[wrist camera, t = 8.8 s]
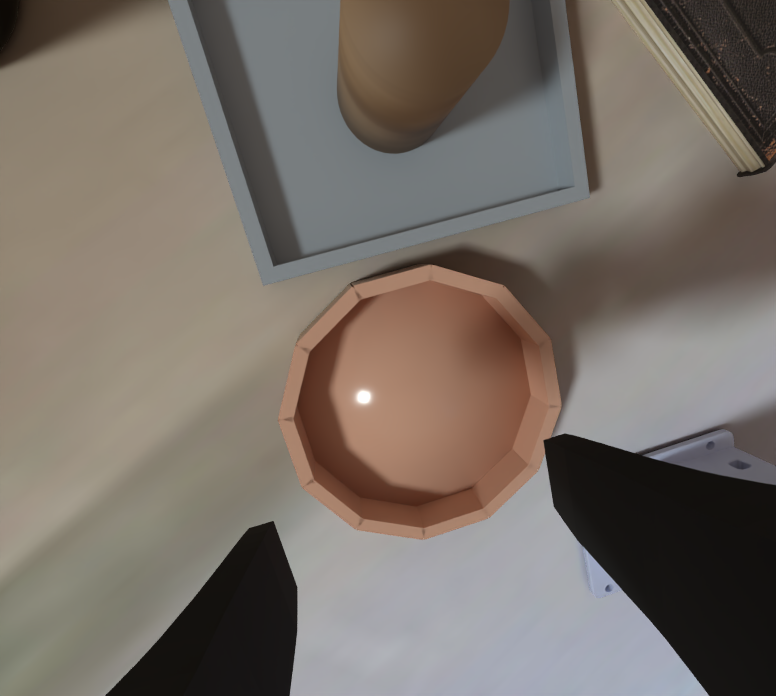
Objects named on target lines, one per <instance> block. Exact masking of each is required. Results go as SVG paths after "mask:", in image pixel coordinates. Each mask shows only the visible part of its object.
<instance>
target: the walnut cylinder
mask: <svg viewBox="0 0 776 696" xmlns="http://www.w3.org/2000/svg"><path fill="white" fill-rule="evenodd" d="M509 3H510V0H340V21H339V46H338V72H337V99H338V105H339V108H340V112H341V114H342V117H343V119H344V121H345V123H346V125H347V126H348V128H349V129H350V131H351V132H352V133H353V134H354V135H355V137H356V138H357V139H359V140H360V141H361V142H362V143H363V144H365V145H367V146H368V147H370V148H372V149H374V150H376V151H380V152H383V153H389V154H398V153H405V152H408V151H411V150H413V149H416V148H417V147H419V146H421V145H422V144H423V143H425V142H426V141H427V140H428V139H429V138H430V137H431V136H432V135H433V133H434V132H435V131H436V130H437V128H438V127H439V126H440V125H441V123H442V122H443V121H444V120H445V118H446V117H447V116H448V114H449V113H450V112H451V111H452V109H453V108H454V107H455V106H456V104H457V103H458V102H459V101H460V99H461V98H462V97H463V96H464V94H465V93H466V92H467V91H468V89H469V88H470V87H471V86H472V84H473V83H474V82H475V80H476V79H477V78H478V77H479V75H480V74H481V73H482V72H483V70H484V69H485V68H486V67H487V65H488V64H489V63H490V61H491V60H492V58H493V57H494V55H495V54H496V52H497V50H498V48H499V46H500V44H501V41H502V39H503V36H504V33H505V30H506V26H507V22H508V15H509Z"/></svg>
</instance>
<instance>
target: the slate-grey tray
mask: <svg viewBox="0 0 776 696" xmlns="http://www.w3.org/2000/svg"><path fill="white" fill-rule="evenodd" d="M168 2H169V5H170V8H171V11H172V14H173V17H174V20H175V23H176V26H177V29H178V32H179V35H180V38H181V41H182V44H183V47H184V50H185V53H186V56H187V59H188V62H189V65H190V68H191V71H192V74H193V77H194V80H195V83H196V86H197V89H198V92H199V95H200V98H201V101H202V104H203V107H204V110H205V113H206V116H207V119H208V122H209V125H210V128H211V131H212V134H213V137H214V140H215V143H216V146H217V149H218V152H219V155H220V158H221V161H222V164H223V167H224V170H225V173H226V176H227V179H228V182H229V185H230V188H231V191H232V194H233V197H234V200H235V203H236V206H237V208H238V211H239V214H240V217H241V220H242V223H243V226H244V229H245V232H246V235H247V238H248V241H249V244H250V247H251V250H252V253H253V256H254V259H255V262H256V265H257V268H258V271H259V274H260V277H261V280H262V283H263V286H264V285H267V284H271V283H275V282H279V281H282V280H286V279H290V278H293V277H297V276H301V275H305V274H308V273H312V272H316V271H319V270H323V269H327V268H331V267H334V266H338V265H342V264H346V263H349V262H353V261H357V260H360V259H364V258H368V257H372V256H375V255H379V254H383V253H386V252H390V251H394V250H398V249H401V248H405V247H409V246H412V245H416V244H420V243H424V242H427V241H431V240H435V239H438V238H442V237H446V236H450V235H453V234H457V233H461V232H465V231H468V230H472V229H476V228H479V227H483V226H487V225H491V224H494V223H498V222H502V221H505V220H509V219H513V218H517V217H520V216H524V215H528V214H531V213H535V212H539V211H543V210H546V209H550V208H554V207H558V206H561V205H565V204H569V203H572V202H576V201H580V200H584V199H587V198H590V194H589V186H588V178H587V170H586V162H585V155H584V147H583V139H582V131H581V123H580V115H579V107H578V99H577V91H576V83H575V75H574V67H573V60H572V52H571V44H570V36H569V28H568V20H567V12H566V4H565V0H510V3H509V15H508V22H507V26H506V30H505V33H504V36H503V39H502V41H501V44H500V46H499V48H498V50H497V52H496V54H495V55H494V57H493V58H492V60H491V61H490V63H489V64H488V65H487V67H486V68H485V69H484V70H483V72H482V73H481V74H480V75H479V77H478V78H477V79H476V80H475V82H474V83H473V84H472V86H471V87H470V88H469V89H468V91H467V92H466V93H465V94H464V96H463V97H462V98H461V99H460V101H459V102H458V103H457V104H456V106H455V107H454V108H453V109H452V111H451V112H450V113H449V114H448V116H447V117H446V118H445V120H444V121H443V122H442V123H441V125H440V126H439V127H438V128H437V130H436V131H435V132H434V133H433V135H432V136H431V137H430V138H429V139H428V140H427V141H426V142H425V143H423V144H422V145H421V146H419V147H417V148H416V149H413V150H411V151H408V152H405V153H398V154H389V153H383V152H380V151H376V150H374V149H372V148H370V147H368V146H367V145H365V144H363V143H362V142H361V141H360V140H359V139H357V138H356V137H355V135H354V134H353V133H352V132H351V131H350V129H349V128H348V126H347V125H346V123H345V121H344V119H343V117H342V114H341V112H340V108H339V105H338V99H337V72H338V46H339V21H340V0H168Z"/></svg>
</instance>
